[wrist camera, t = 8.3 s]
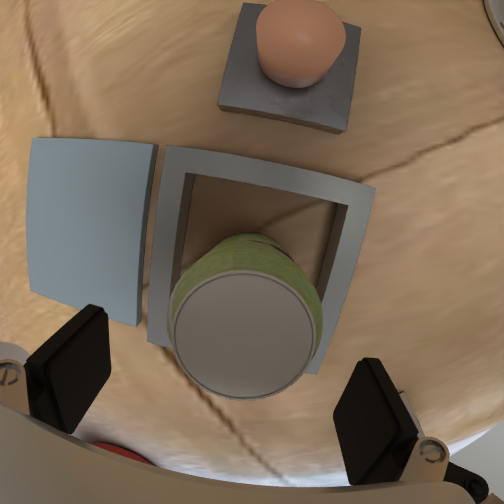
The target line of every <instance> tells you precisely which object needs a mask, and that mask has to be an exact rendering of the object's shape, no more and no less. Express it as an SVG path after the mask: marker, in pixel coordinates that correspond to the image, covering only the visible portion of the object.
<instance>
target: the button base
mask: <svg viewBox="0 0 504 504" xmlns="http://www.w3.org/2000/svg"><path fill="white" fill-rule="evenodd" d="M266 6H267V5H260V4H252V3H243V5H242V8H241V12H240V15H239V19H238V22H237V26H236V30H235V33H234V37H233V41H232V45H231V48H230V52H229V56H228V60H227V64H226V68H225V72H224V76H223V81H222V85H221V89H220V94H219V98H218V103H217V105H218V106H219V107H220V109H221V110H222V111H229V112H235V113H242V114H248V115H254V116H259V117H265V118H270V119H275V120H280V121H284V122H289V123H294V124H298V125H302V126H307V127H311V128H315V129H319V130H323V131H327V132H330V133H334V134H341V133H343V132H345V131H346V128H347V123H348V117H349V111H350V105H351V99H352V93H353V87H354V80H355V73H356V66H357V59H358V51H359V43H360V35H361V28H360V27H357V26H354V25H351V24H348V23H345V22H342V23H343V26H344V29H345V33H346V40H345V45H344V47H343V49H342V51H341V52H340V54H339V55H338V57H337V58H336V60H335V61H334V63H333V64H332V66H331V67H330V69H329V70H328V72H327V73H326V75H325V76H324V77H323V78H322V79H321V80H320V81H319V82H317V83H316V84H314V85H311V86H308V87H304V88H291V87H286V86H283V85H280V84H278V83H276V82H274V81H273V80H271V79H270V78H269V77H268V76H267V75H266V74H265V73H264V72H263V70H262V68H261V66H260V64H259V60H258V49H257V34H256V23H257V19H258V17H259V15H260V13H261V12H262V10H263V9H264V8H265V7H266Z"/></svg>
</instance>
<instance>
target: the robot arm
mask: <svg viewBox="0 0 504 504" xmlns="http://www.w3.org/2000/svg"><path fill="white" fill-rule="evenodd" d="M484 3H485V8H486V11H487V14H488V17H489V19H490V21H491V23H492V26H493V27H494V29H495V31H496V33H497V35H498V37H499V39H500V40H501V42H502V44H503V45H504V0H484ZM26 361H27V362H26V363H25V364H24V365H23V366H22V364H20V363H19V362H18V361H15V360H10V359H5V360H0V504H504V502H503V501H502V500H501V499H499V498H498V497H497V496H496V495H494V494H493V493H491V494H490V495H488V492H489V488H488V484H487V482H486V481H485V480H484V479H483V478H482V477H481V476H479V475H477V474H475V473H473V472H470V471H468V470H466V469H464V468H462V467H459V466H457V465H455V464H453V463H451V462H449V455H450V454H449V450H448V448H447V446H446V445H445V444H444V443H443V442H442V441H440V440H439V439H437V438H434V437H423V438H421V439H419V438H418V436H417V434H418V433H419V431H418V429H417V427H416V425H415V423H414V421H413V419H412V418H411V416H410V414H409V412H408V410H407V408H406V406H405V404H404V403H403V401H402V399H401V397H400V395H399V393H398V391H397V390H396V388H395V386H394V384H393V382H392V381H391V379H390V377H389V375H388V374H387V372H386V370H385V368H384V366H383V365H382V363H381V361H380V360H379V359H378V358H367V357H365V358H363V359H362V361H358V362H357V364H356V366H355V369H354V371H353V373H352V375H351V377H350V379H349V381H348V384H347V386H346V388H345V390H344V392H343V394H342V396H341V398H340V400H339V402H338V404H337V406H336V408H335V410H334V412H333V420H334V424H335V428H336V432H337V436H338V440H339V444H340V448H341V452H342V456H343V460H344V464H345V468H346V472H347V477H348V481H349V484H350V485H353V486H339V487H278V486H263V485H252V484H243V483H235V482H228V481H221V480H215V479H209V478H203V477H198V476H193V475H189V474H184V473H180V472H175V471H171V470H167V469H164V468H160V467H156V466H152V465H149V464H146V463H142V462H139V461H136V460H133V459H130V458H127V457H124V456H121V455H118V454H115V453H112V452H110V451H107V450H104V449H102V448H99V447H97V446H94V445H92V444H90V443H87V442H85V441H82V440H80V439H78V438H75V437H73V436H71V435H69V434H72V433H73V432H74V431H75V429H76V428H77V426H78V424H79V423H80V421H81V420H82V418H83V416H84V415H85V413H86V412H87V410H88V409H89V407H90V406H91V404H92V402H93V401H94V399H95V398H96V396H97V395H98V393H99V392H100V390H101V389H102V387H103V386H104V384H105V383H106V381H107V380H108V378H109V376H110V374H111V358H110V345H109V326H108V314H107V313H106V312H105V310H104V308H103V307H100V306H97V305H93V304H88V305H87V306H85V307H84V308H83V309H82V310H81V311H80V312H78V313H77V314H76V315H75V316H74V317H73V318H72V319H70V320H69V321H68V322H67V323H66V324H65V325H64V326H62V327H61V328H60V329H59V330H58V331H57V332H56V333H55V334H54V335H52V336H51V337H50V338H49V339H48V340H47V341H46V342H45V343H44V344H43V345H42V346H40V347H39V348H38V349H37V350H36V351H35V352H34V353H33V354H32V355H31V356H30V357H29V358H28V359H27V360H26Z"/></svg>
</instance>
